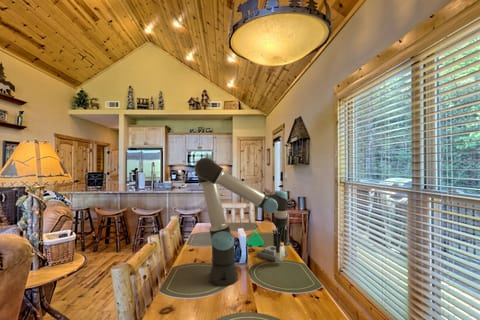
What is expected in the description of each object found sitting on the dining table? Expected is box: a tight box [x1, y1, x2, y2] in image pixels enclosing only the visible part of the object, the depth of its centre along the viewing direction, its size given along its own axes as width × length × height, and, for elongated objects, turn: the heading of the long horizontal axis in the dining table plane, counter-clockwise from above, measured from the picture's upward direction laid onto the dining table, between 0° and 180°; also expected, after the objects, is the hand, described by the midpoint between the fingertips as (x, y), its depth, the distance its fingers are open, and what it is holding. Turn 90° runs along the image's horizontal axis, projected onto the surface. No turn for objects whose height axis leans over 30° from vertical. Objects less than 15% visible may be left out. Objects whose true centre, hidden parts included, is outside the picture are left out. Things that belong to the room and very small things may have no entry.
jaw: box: [277, 241, 285, 262], centre depth 151 cm, size 4×4×10 cm
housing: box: [256, 245, 288, 263], centre depth 165 cm, size 14×14×5 cm
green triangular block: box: [246, 230, 265, 248], centre depth 188 cm, size 12×8×10 cm, turn 90°
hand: (280, 256), depth 151 cm, fingers closed on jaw, 3 cm apart
